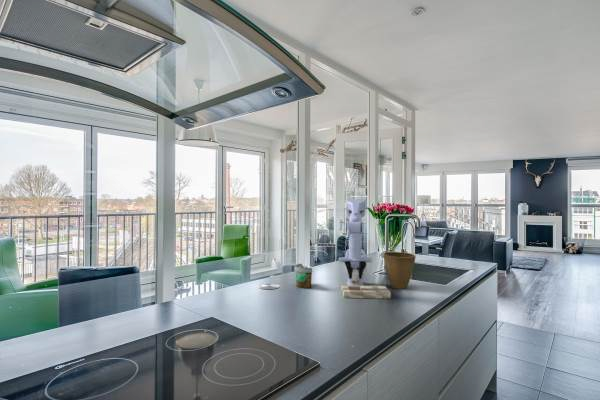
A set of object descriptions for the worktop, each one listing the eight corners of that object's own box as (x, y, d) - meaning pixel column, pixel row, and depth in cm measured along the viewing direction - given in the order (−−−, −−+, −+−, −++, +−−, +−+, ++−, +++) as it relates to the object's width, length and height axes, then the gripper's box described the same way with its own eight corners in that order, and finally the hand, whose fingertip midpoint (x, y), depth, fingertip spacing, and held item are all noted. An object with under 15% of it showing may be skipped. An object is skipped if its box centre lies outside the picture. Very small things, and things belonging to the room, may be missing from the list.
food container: (290, 284, 159) (290, 264, 159) (301, 283, 161) (301, 263, 161) (300, 290, 148) (300, 269, 148) (312, 289, 150) (312, 268, 150)
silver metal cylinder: (350, 281, 144) (349, 265, 144) (358, 281, 144) (358, 265, 144) (351, 283, 140) (351, 267, 140) (360, 283, 140) (360, 267, 140)
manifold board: (341, 290, 148) (341, 285, 148) (384, 291, 147) (384, 285, 147) (344, 297, 137) (344, 292, 137) (390, 298, 136) (390, 292, 136)
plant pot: (379, 288, 152) (380, 255, 152) (387, 281, 165) (387, 251, 165) (412, 293, 144) (412, 258, 144) (417, 285, 157) (418, 253, 157)
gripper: (339, 249, 138) (339, 280, 138) (373, 249, 138) (373, 280, 138) (338, 247, 145) (338, 276, 145) (370, 247, 145) (369, 277, 145)
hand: (355, 278), depth 142 cm, fingers closed on silver metal cylinder, 4 cm apart
